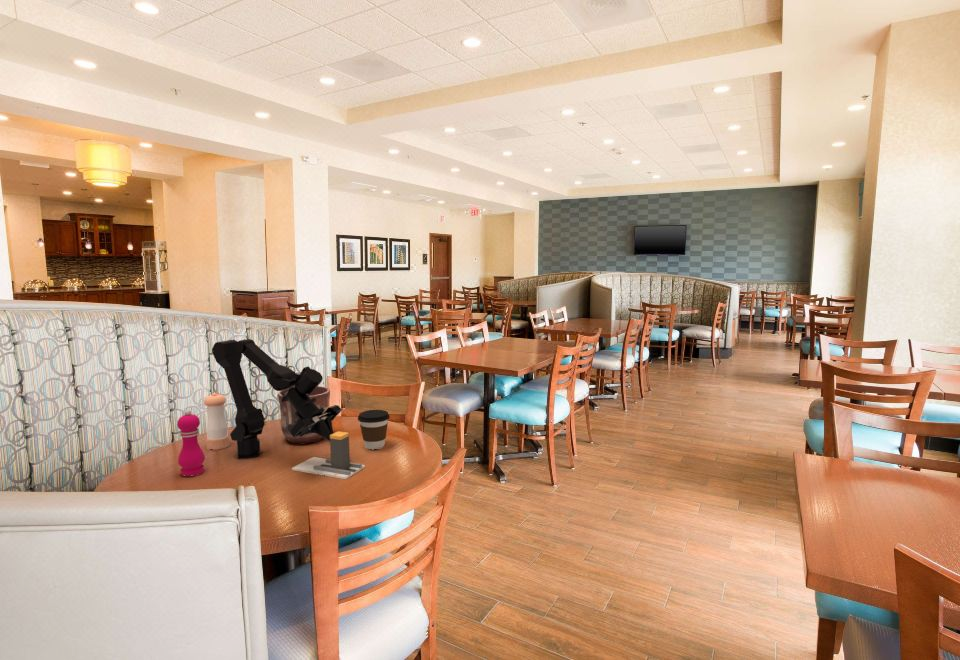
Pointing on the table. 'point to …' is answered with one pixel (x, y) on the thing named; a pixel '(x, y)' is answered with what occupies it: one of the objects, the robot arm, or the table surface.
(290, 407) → the pottery
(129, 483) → the table surface
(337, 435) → the fader knob
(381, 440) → the coffee cup
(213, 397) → the pepper shaker
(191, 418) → the pepper mill
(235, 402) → the robot arm
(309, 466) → the plate
